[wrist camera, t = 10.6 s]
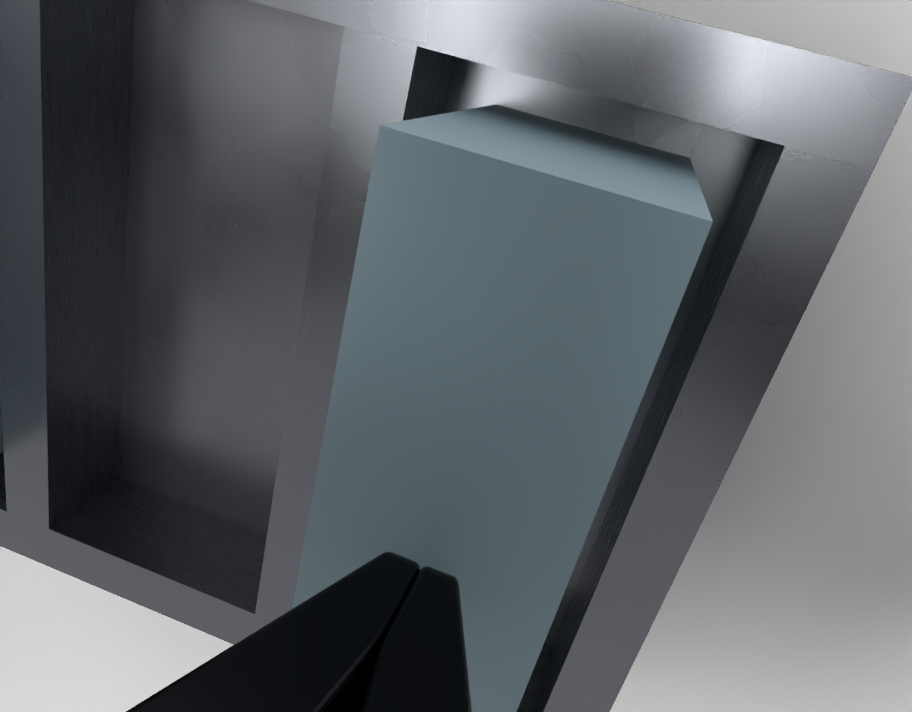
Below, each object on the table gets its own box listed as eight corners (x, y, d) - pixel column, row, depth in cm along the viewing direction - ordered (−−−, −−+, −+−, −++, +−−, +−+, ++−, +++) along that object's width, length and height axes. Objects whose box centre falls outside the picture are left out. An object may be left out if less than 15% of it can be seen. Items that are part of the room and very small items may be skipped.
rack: (597, 696, 16) (585, 825, 13) (-91, 420, 18) (-219, 479, 16) (884, 86, 10) (966, 89, 7) (-161, -179, 13) (-377, -246, 10)
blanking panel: (523, 604, 14) (460, 851, 10) (386, 550, 14) (264, 763, 10) (690, 157, 10) (713, 220, 6) (496, 104, 11) (379, 124, 6)
